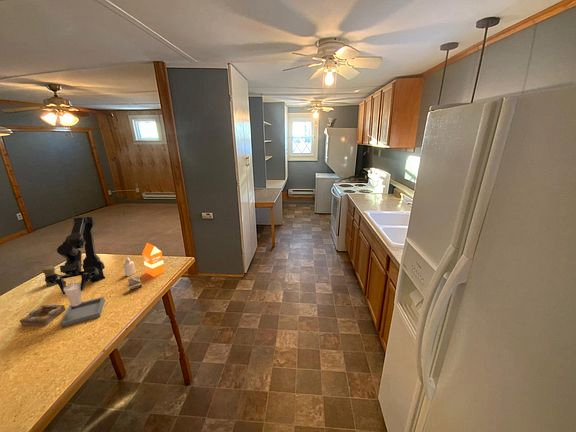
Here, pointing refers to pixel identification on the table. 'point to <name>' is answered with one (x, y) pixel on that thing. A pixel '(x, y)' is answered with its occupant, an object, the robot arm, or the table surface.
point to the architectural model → (134, 282)
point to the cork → (49, 273)
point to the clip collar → (52, 309)
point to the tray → (83, 312)
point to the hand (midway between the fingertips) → (72, 292)
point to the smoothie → (73, 293)
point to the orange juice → (153, 260)
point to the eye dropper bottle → (129, 267)
